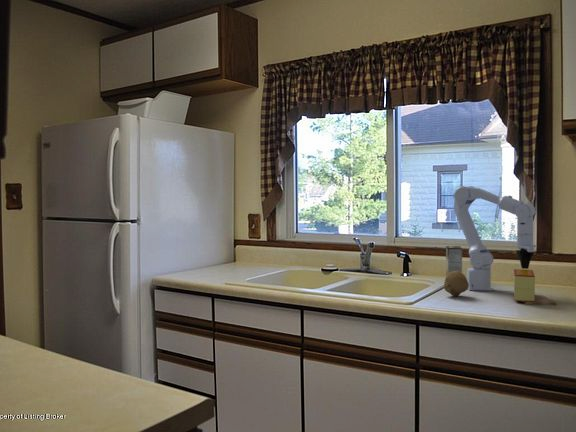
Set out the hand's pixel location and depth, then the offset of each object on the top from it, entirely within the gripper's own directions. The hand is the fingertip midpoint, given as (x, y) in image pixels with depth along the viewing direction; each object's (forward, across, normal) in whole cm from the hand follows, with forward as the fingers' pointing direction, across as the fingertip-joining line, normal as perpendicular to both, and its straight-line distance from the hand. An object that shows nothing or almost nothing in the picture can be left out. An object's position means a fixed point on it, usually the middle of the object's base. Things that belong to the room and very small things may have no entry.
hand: (524, 268), depth 199 cm
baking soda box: (+5, -2, +1) cm, 5 cm away
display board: (+10, -12, 0) cm, 16 cm away
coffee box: (+11, +28, +22) cm, 38 cm away
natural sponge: (+11, -6, +27) cm, 30 cm away
